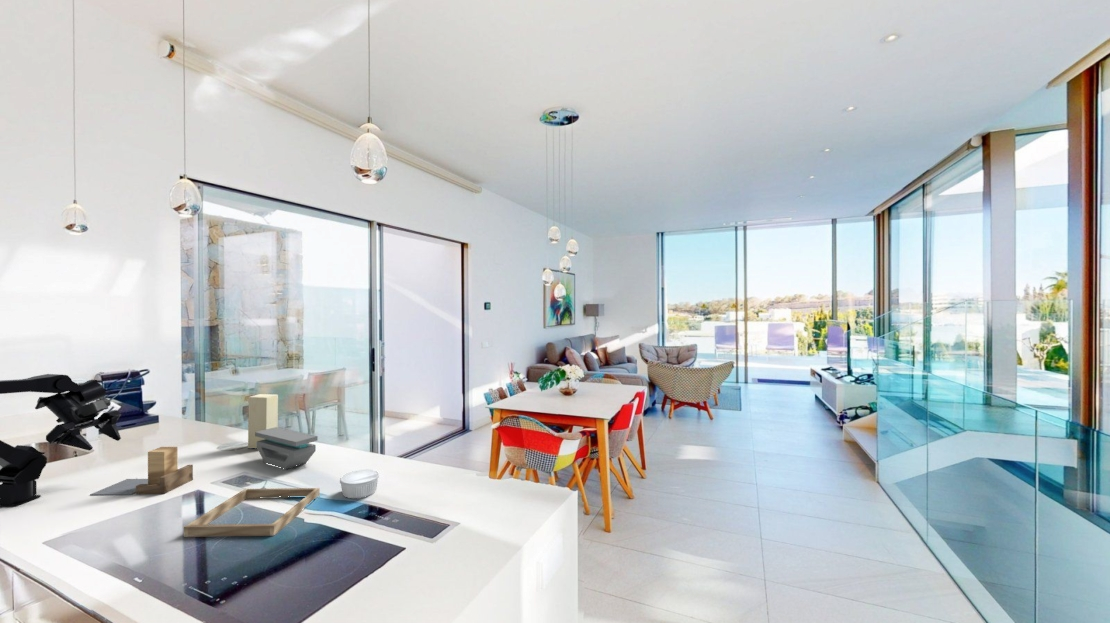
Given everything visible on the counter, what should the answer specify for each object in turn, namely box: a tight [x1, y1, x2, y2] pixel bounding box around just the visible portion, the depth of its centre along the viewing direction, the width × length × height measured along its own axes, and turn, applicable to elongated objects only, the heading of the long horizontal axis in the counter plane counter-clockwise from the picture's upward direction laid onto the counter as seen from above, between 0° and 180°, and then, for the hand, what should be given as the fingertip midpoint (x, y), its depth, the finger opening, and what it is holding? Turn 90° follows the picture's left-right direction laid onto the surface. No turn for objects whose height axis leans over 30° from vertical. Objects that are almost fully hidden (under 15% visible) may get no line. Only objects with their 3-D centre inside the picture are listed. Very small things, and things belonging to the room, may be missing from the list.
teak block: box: [147, 446, 179, 484], centre depth 140 cm, size 5×5×12 cm
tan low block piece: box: [135, 464, 194, 495], centre depth 140 cm, size 11×8×5 cm
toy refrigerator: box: [247, 393, 279, 448], centre depth 181 cm, size 8×7×21 cm
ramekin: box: [339, 469, 380, 499], centre depth 137 cm, size 11×11×5 cm
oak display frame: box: [183, 487, 321, 538], centre depth 122 cm, size 23×22×2 cm
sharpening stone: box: [255, 426, 319, 470], centre depth 161 cm, size 25×8×11 cm, turn 62°
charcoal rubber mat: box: [89, 478, 148, 496], centre depth 140 cm, size 12×12×1 cm
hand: (105, 444), depth 140 cm, fingers open, 9 cm apart
